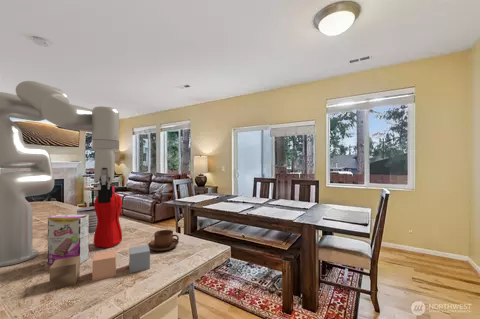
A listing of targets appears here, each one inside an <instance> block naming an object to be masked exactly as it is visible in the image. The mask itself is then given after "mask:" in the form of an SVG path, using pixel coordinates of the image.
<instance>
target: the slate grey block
mask: <svg viewBox="0 0 480 319" xmlns="http://www.w3.org/2000/svg"><path fill="white" fill-rule="evenodd" d="M128 253H129V255H128V256H129V260H128V262H129V263H128V264H129V273H130V274H131V273H135V272H136V273H137V272H141V271H144V270H150V268H151V249H150V248H149V246H148V244H145V245H138V246H131V247H129V252H128Z"/></svg>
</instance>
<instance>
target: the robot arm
mask: <svg viewBox="0 0 480 319" xmlns="http://www.w3.org/2000/svg"><path fill="white" fill-rule="evenodd" d="M15 93H16V94H13V93H8V92H3V91H0V169H6V170H10V169H12V170H14V169H15V170H16V169H17V170H18V169H29V170H27V171H26V170H24V171H23V170H22V171H8V172H3V173H0V267H5V266H6V267H7V266H12V265H16V264H20V263H24V262H26V261H29V260H31V259H33V258H35V257H37V256H38V254H39V250H38V249H36V248H33V237H34V236H33V235H34V234H33V231H34V229H33V226H34V225H33V217H34V215H33V207H32V205H31V203H30V202H29V201H28V200H27V199H26V198H27V197H33V196H34V197H35V196H39V195H47V194H49V193H51V191H52V190H53V189H54V187H55V175H54V169H53V165H52V158H51V155H50V153H49V151H48V149H47V148H46V147H44V146H43V145H40V144H32V143H26V142H25V141H24V137H23V133H22V130H21V128H19V126H18V125H17V124H16V123H15V122H14V121H13V120H12V119H13V118H14V119H19V120H20V119H21V120H25V121H31V122H32V121H33V122H41V121H44V120H46V121H47V122H49V123H51V124H53V125H55V126H57V127H59V128H62V129H66V130H74V131H81V132H87V133H91V151H92V152H95V154H94V165H93V166H94V171H93V172H94V174H93V182H94V183H95V184H97V183H98V189H97V197H98V203H110V202H111V198H112V186H113V185H112V183H113V181H114V178H115V169H116V168H115V167H116V152H120V112H119V110H118V109H116V108H114V107H110V106H104V105H103V106H101V105H100V106H95V107H93V108H92V109H91V108H88V107H83V106H80V105H75V104H72V103H70V101H69V98H68V95H67V93H66V92H65V91H64V90H62V89H60V88H57V87H55V86H51V85H47V84H44V83H41V82H38V81H34V80H33V81H32V80H25V81H21V82H19V83H18V84H17V85H16V86H15ZM11 118H12V119H11Z"/></svg>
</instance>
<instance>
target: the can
mask: <svg viewBox="0 0 480 319" xmlns="http://www.w3.org/2000/svg"><path fill="white" fill-rule="evenodd" d="M76 215H89V233H90V234H95V233H94V232H95V230H96V226H97V215H96V212H95V208H94V205H93V206H87V207H82V208H79V209H76Z"/></svg>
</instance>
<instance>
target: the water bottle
mask: <svg viewBox="0 0 480 319" xmlns="http://www.w3.org/2000/svg"><path fill="white" fill-rule="evenodd" d="M93 206H94V208H95V212H96V215H97V226H96V230H95V233H93V234H94V235H93V245H94V247H95V248H104V249H108V248H112V247H114V246H116V245H118V244H120V243H121V242H122V241H123V232H122V231H123V230H122V226H121V223H120V220H119V219H120V218H121V217H122V215H123V211H122V207H123V199H122V197H121V195H120V194H118V193H116V192H115V186H114V185H112V198H111V202H110V203H98V196H96V198H95V200H94V203H93Z"/></svg>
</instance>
